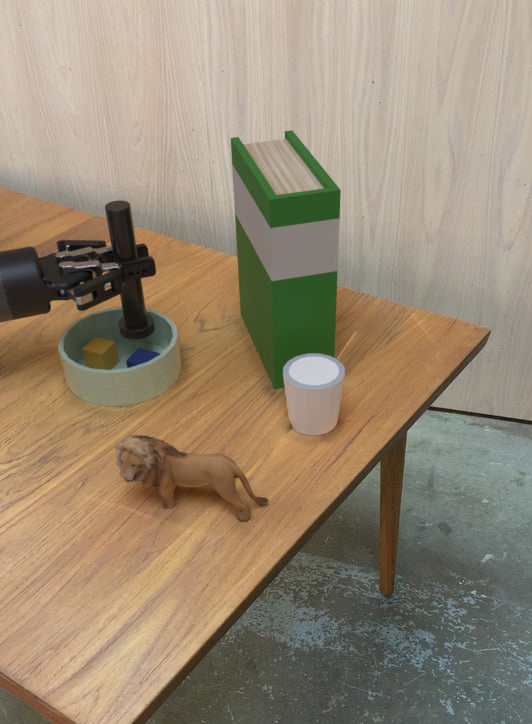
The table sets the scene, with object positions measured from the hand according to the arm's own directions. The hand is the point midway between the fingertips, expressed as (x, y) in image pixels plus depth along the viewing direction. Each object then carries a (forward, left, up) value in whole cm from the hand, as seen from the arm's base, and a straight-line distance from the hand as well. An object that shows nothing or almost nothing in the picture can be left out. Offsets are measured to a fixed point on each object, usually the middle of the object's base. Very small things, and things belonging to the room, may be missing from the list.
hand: (150, 259), depth 92 cm
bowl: (-2, -6, -13) cm, 15 cm away
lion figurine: (+17, -23, -13) cm, 32 cm away
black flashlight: (-2, -2, -9) cm, 9 cm away
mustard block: (-5, -6, -13) cm, 15 cm away
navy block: (+1, -6, -13) cm, 14 cm away
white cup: (+23, -5, -13) cm, 27 cm away
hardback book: (+14, +7, -13) cm, 21 cm away
